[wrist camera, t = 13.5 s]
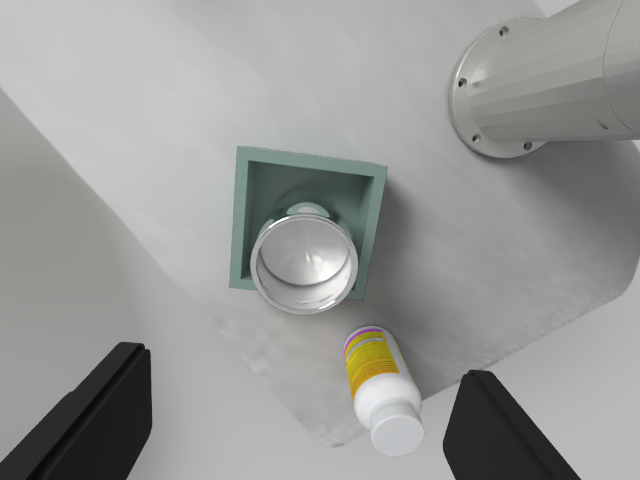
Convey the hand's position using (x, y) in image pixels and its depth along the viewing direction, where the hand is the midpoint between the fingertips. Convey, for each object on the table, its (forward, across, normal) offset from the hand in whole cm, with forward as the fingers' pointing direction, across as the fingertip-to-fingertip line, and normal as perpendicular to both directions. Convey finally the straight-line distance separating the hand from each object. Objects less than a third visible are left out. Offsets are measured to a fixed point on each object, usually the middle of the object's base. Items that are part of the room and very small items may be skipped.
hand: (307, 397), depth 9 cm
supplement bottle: (+26, -10, +16) cm, 32 cm away
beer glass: (+25, 0, 0) cm, 25 cm away
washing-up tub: (+26, 0, 0) cm, 26 cm away
